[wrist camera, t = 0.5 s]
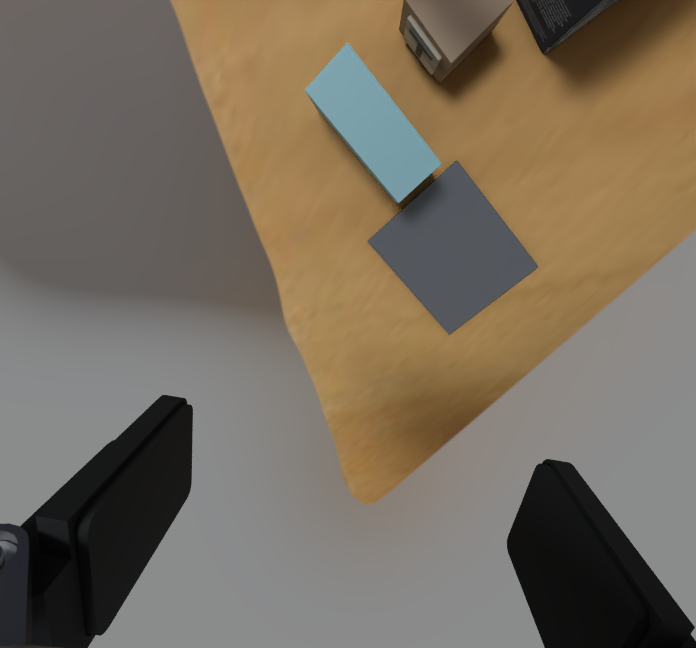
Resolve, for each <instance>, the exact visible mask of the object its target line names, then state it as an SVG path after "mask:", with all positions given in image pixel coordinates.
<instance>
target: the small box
mask: <svg viewBox="0 0 696 648" xmlns="http://www.w3.org/2000/svg"><path fill="white" fill-rule="evenodd" d="M616 1H617V0H517V2H518V4H519V6H520V8H521V10H522V12H523V14H524V17H525V19H526V21H527V23H528V25H529V27H530V29H531V31H532V33H533V35H534V37H535V39H536V41H537V43H538V45H539V47H540V49H541V51H542V53H544V54H546V53H548V52H549V51H550V50H552V49H553V48H554V47H556V46H557V45H559V44H560V43H561V42H563V41H564V40H565V39H567V38H568V37H569V36H571V35H572V34H573V33H575V32H576V31H577V30H579V29H580V28H581V27H583V26H584V25H585V24H587V23H589V22H590V21H591V20H592V19H593V18H595V17H596V16H597V15H599V14H600V13H602V12H603V11H604V10H606V9H607V8H608V7H609V6H611V5H612V4H614V3H615V2H616Z"/></svg>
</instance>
